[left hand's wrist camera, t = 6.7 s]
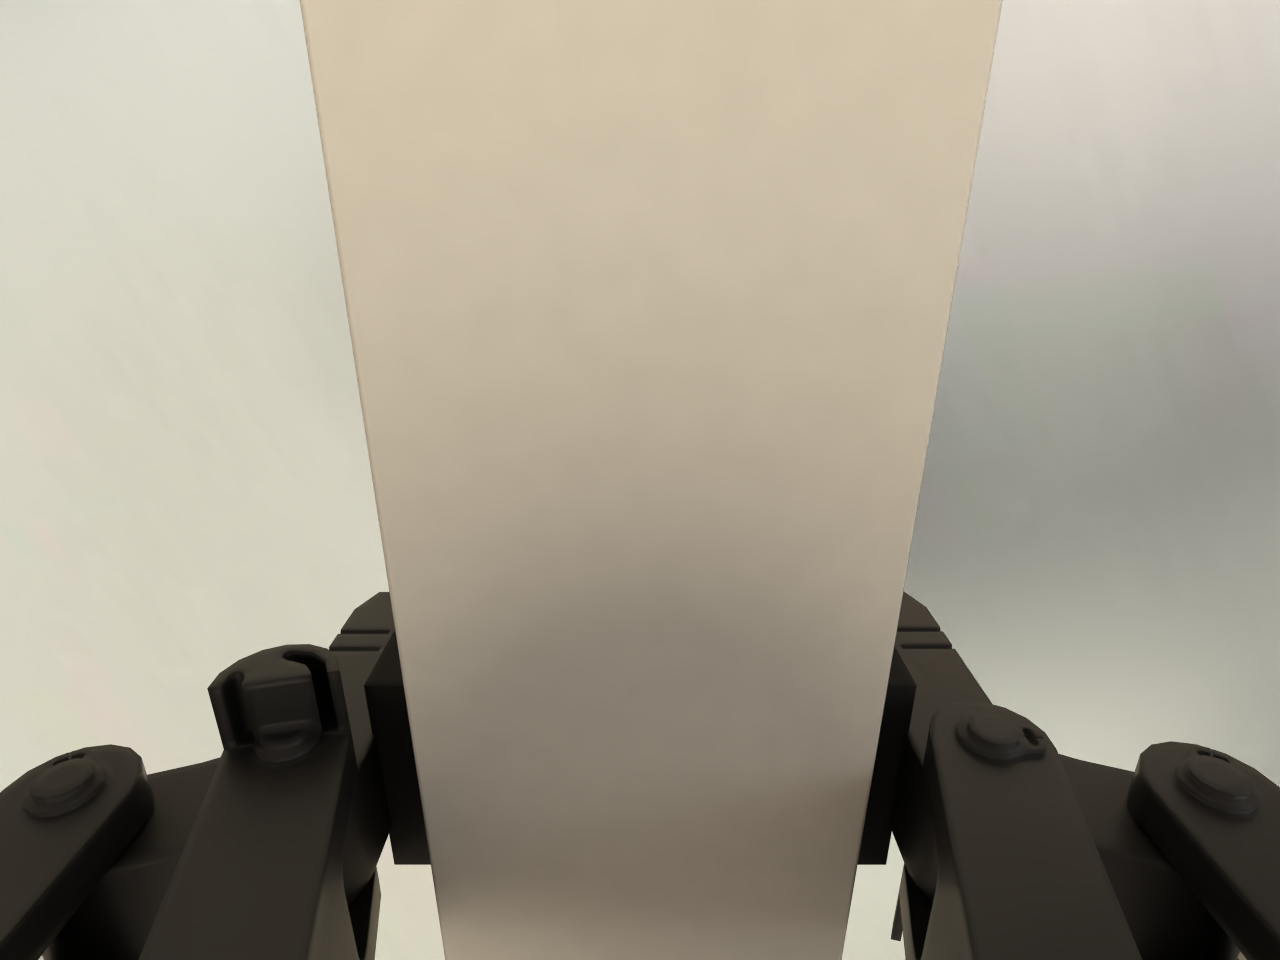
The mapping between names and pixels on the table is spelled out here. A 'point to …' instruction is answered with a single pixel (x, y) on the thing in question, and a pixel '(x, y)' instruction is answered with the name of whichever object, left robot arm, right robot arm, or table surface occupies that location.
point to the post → (647, 435)
